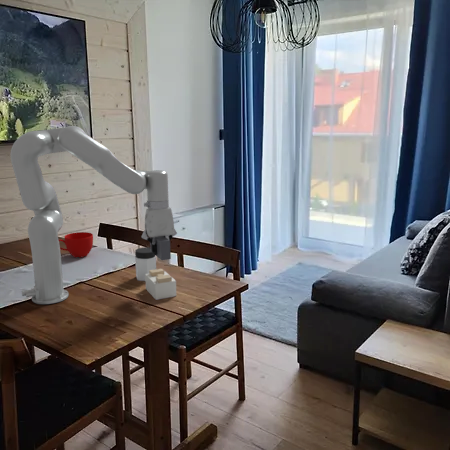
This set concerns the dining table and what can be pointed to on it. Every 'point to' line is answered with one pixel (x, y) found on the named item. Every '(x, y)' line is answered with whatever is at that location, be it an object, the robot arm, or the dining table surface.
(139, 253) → the jar
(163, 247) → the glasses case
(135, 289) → the dining table surface
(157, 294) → the white toaster
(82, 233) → the ceramic cup
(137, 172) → the robot arm
